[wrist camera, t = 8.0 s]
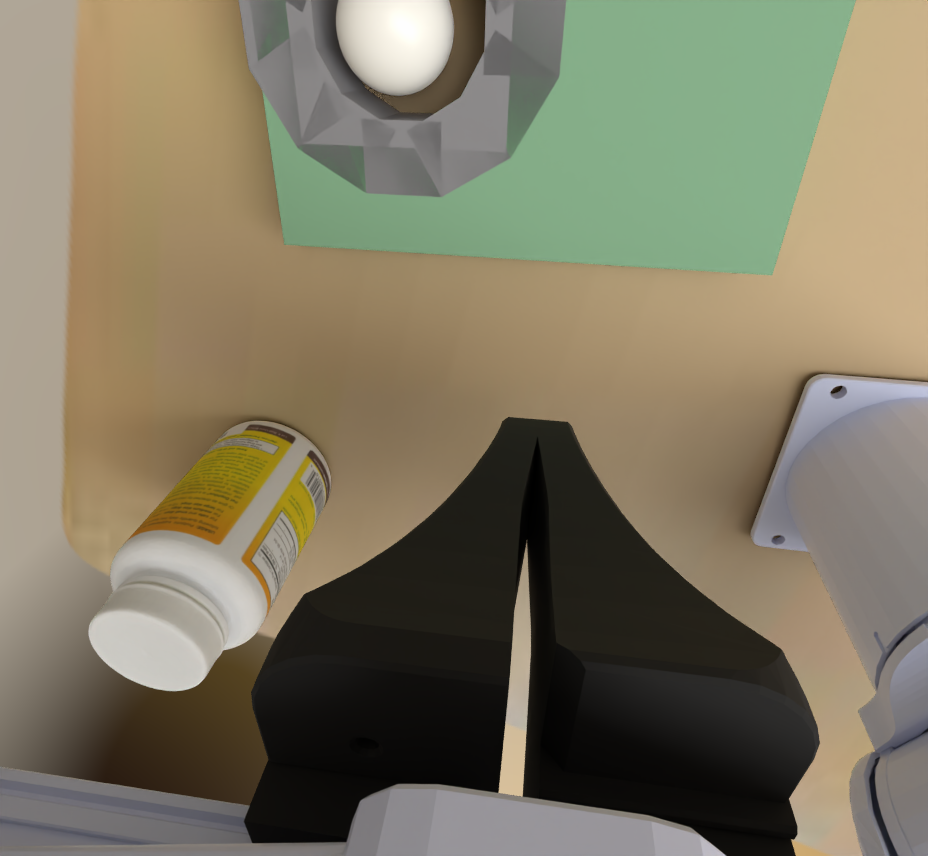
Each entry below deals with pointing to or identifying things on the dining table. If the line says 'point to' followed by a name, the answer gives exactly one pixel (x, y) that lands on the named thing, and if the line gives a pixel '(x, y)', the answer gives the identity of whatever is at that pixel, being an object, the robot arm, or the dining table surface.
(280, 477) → the supplement bottle
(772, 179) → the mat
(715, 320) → the dining table surface
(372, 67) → the ball
